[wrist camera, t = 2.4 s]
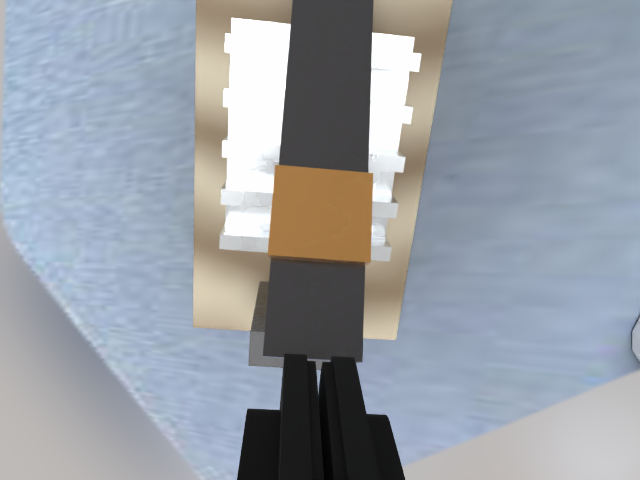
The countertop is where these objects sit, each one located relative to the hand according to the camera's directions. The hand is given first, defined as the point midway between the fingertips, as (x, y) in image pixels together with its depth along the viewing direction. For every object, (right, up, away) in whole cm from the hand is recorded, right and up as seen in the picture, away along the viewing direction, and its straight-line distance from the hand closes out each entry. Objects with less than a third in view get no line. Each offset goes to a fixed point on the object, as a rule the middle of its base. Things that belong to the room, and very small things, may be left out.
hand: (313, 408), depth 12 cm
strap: (0, +9, +7) cm, 11 cm away
